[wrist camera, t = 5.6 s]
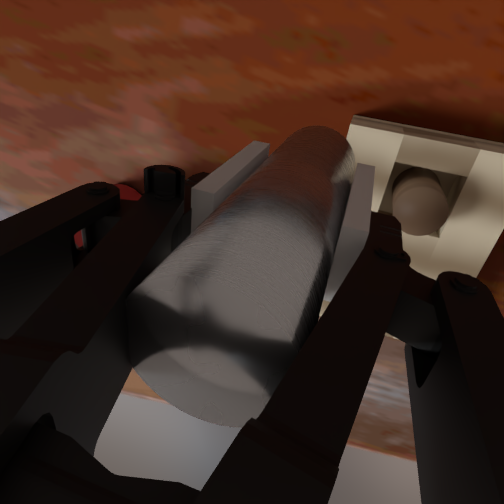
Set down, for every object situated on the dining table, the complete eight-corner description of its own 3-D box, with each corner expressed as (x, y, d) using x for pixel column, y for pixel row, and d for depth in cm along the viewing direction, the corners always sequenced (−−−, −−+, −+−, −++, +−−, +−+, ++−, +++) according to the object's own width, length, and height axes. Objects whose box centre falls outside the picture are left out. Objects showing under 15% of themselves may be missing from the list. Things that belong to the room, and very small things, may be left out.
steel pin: (284, 118, 18) (111, 251, 7) (365, 134, 18) (323, 314, 6) (272, 192, 21) (123, 390, 9) (343, 209, 20) (283, 450, 8)
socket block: (353, 114, 33) (347, 130, 28) (524, 147, 30) (554, 171, 25) (307, 289, 44) (297, 325, 38) (431, 324, 41) (438, 368, 36)
